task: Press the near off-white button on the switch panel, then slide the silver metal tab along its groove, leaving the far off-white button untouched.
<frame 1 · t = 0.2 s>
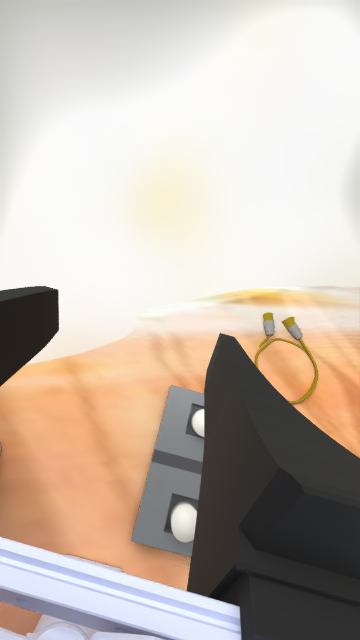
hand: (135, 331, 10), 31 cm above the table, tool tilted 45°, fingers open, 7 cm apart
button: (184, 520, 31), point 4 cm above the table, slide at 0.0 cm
extension cord: (283, 358, 44), on the table
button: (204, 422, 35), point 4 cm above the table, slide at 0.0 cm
switch panel: (191, 462, 36), on the table
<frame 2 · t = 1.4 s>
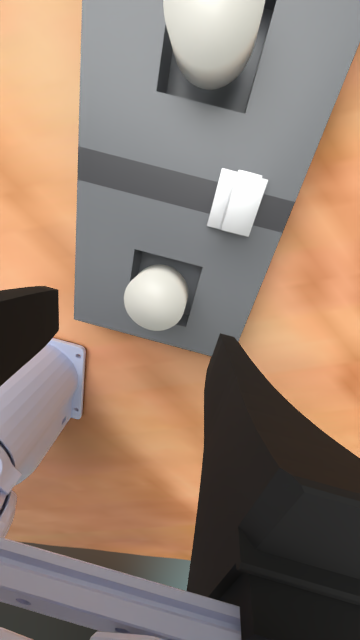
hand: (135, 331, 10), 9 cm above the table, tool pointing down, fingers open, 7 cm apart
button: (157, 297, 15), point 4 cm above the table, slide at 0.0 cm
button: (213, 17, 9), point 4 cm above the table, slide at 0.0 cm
slider tab: (237, 204, 12), point 4 cm above the table, slide at 0.0 cm
switch panel: (187, 192, 15), on the table
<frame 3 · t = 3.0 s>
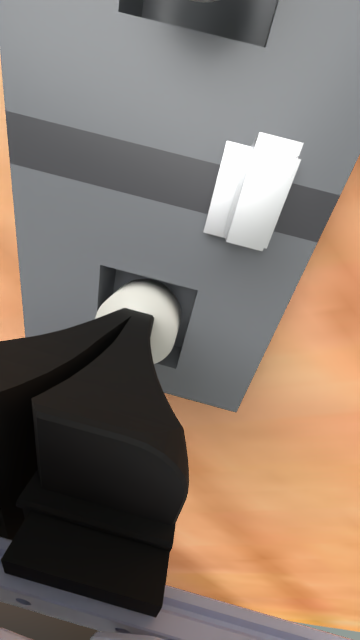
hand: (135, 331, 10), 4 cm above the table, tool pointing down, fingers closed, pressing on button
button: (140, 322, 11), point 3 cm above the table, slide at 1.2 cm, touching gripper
slider tab: (252, 198, 7), point 4 cm above the table, slide at 0.0 cm
switch panel: (176, 183, 11), on the table
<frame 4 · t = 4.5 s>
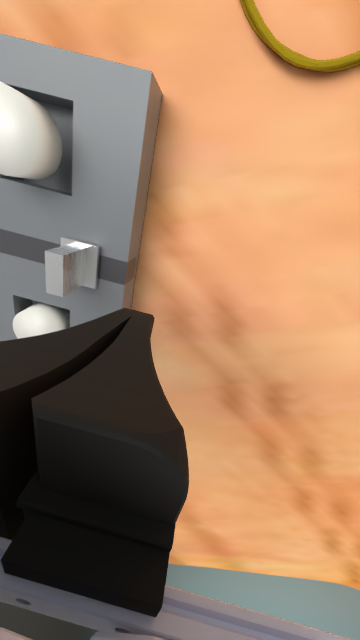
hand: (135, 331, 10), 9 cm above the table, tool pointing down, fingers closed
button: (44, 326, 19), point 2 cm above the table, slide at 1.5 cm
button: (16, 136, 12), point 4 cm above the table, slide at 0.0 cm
slider tab: (68, 268, 14), point 4 cm above the table, slide at 0.0 cm
switch panel: (60, 245, 18), on the table
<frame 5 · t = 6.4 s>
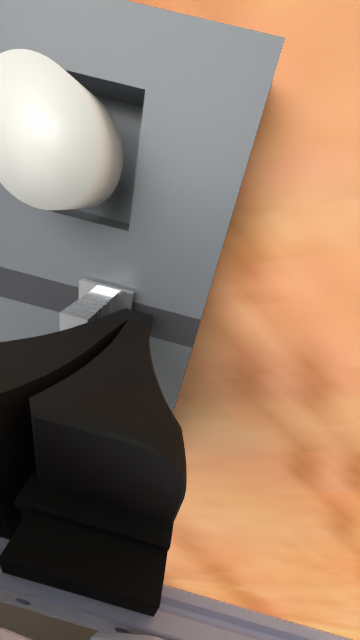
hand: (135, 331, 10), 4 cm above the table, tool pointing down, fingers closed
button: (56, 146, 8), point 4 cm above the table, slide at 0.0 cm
slider tab: (91, 326, 10), point 4 cm above the table, slide at 1.4 cm, touching gripper
switch panel: (98, 285, 14), on the table
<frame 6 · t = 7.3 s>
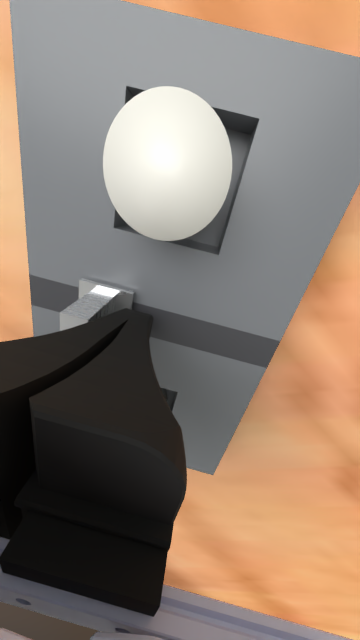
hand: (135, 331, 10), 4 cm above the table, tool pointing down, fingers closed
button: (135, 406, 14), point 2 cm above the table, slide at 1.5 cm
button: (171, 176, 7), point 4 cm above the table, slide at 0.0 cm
slider tab: (91, 326, 10), point 4 cm above the table, slide at 5.1 cm, touching gripper
switch panel: (161, 302, 14), on the table
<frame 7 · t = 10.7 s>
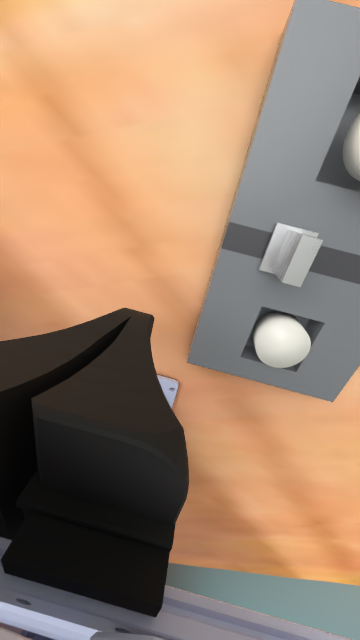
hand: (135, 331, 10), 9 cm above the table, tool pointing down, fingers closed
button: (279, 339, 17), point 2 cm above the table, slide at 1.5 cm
slider tab: (293, 256, 13), point 4 cm above the table, slide at 5.2 cm
switch panel: (306, 252, 17), on the table
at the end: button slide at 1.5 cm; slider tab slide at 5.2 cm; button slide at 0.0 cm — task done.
